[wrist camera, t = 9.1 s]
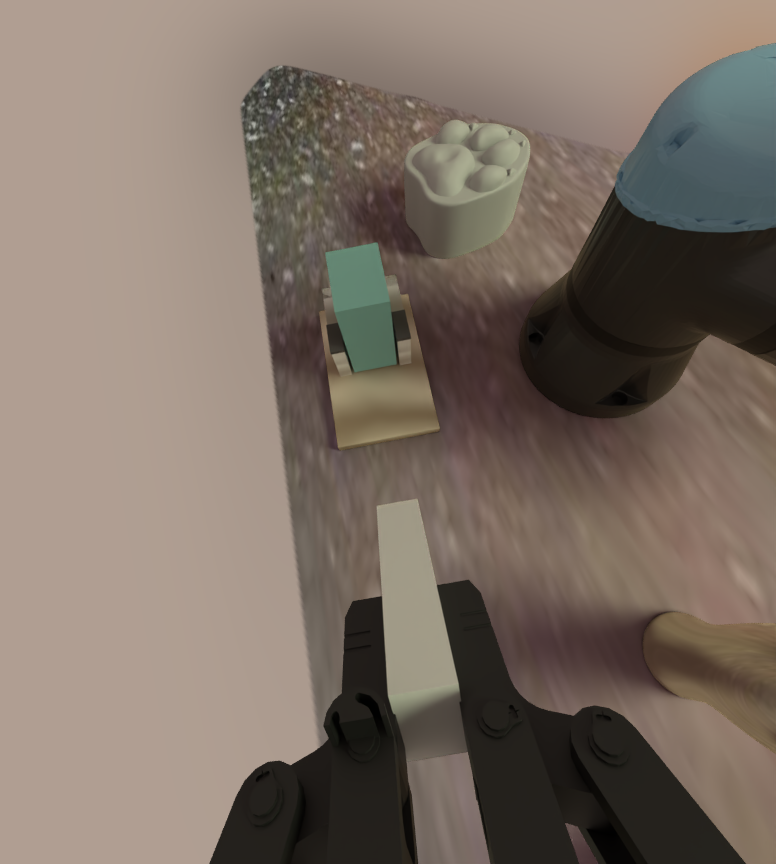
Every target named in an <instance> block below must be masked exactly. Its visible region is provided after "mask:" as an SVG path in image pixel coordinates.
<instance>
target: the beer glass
mask: <svg viewBox="0 0 776 864" xmlns="http://www.w3.org/2000/svg"><path fill="white" fill-rule="evenodd" d="M643 654H644V658H645V661H646V664H647V666H648V668H649V670H650V671H651V673H652V675H653V676H654V677H655V679H656V680H657V681H658V682H659V683H660V684H661V685H662V686H663V687H665V688H666V689H667V690H669V691H670V692H672V693H674V694H675V695H678V696H680V697H683V698H686V699H690V700H694V701H699V702H704V703H706V704H708V705H710V706H711V707H713V708H714V709H715V710H717V711H718V712H719V713H721V714H722V715H723V716H724V717H726V718H727V719H728V720H729V721H731V722H732V723H733V724H734V725H736V726H737V727H738V728H740V729H741V730H742V731H743V732H745V733H746V734H747V735H749V736H750V737H751V738H753V739H754V740H756V741H757V742H759V743H760V744H762V745H763V746H764V747H766V748H767V749H769V750H770V751H772V752H773V753H775V754H776V623H740V624H724V625H714V624H709V623H707V622H705V621H703V620H701V619H699V618H697V617H694V616H692V615H689V614H686V613H681V612H668V613H664V614H661V615H659V616H657V617H656V618H654V619H653V620H652V621H651V622H650V623H649V625H648V626H647V628H646V630H645V632H644V636H643Z"/></svg>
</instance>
